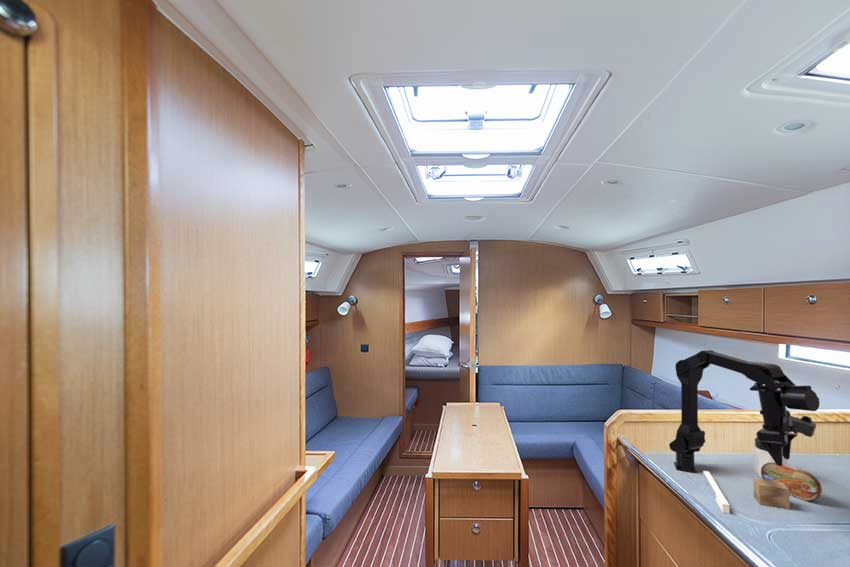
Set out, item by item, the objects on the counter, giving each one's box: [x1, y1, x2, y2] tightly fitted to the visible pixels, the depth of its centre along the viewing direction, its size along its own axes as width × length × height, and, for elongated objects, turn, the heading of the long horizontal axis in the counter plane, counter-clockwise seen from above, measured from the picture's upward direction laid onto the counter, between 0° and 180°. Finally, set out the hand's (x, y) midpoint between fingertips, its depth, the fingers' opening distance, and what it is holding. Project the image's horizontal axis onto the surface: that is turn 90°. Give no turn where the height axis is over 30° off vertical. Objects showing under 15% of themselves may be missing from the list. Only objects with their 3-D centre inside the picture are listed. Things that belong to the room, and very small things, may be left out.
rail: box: [702, 470, 731, 514], centre depth 127 cm, size 24×2×2 cm, turn 156°
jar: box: [753, 437, 788, 478], centre depth 140 cm, size 9×8×12 cm
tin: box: [761, 463, 823, 502], centre depth 127 cm, size 15×3×8 cm, turn 21°
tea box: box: [752, 477, 790, 511], centre depth 121 cm, size 7×5×6 cm
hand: (783, 462), depth 117 cm, fingers open, 9 cm apart
